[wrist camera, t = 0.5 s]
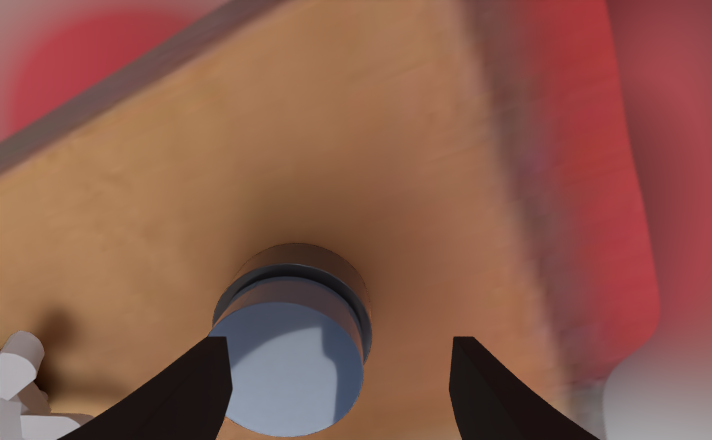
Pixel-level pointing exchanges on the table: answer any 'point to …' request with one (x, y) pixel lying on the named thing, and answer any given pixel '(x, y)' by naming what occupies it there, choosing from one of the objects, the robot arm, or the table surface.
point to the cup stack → (294, 339)
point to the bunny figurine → (28, 395)
